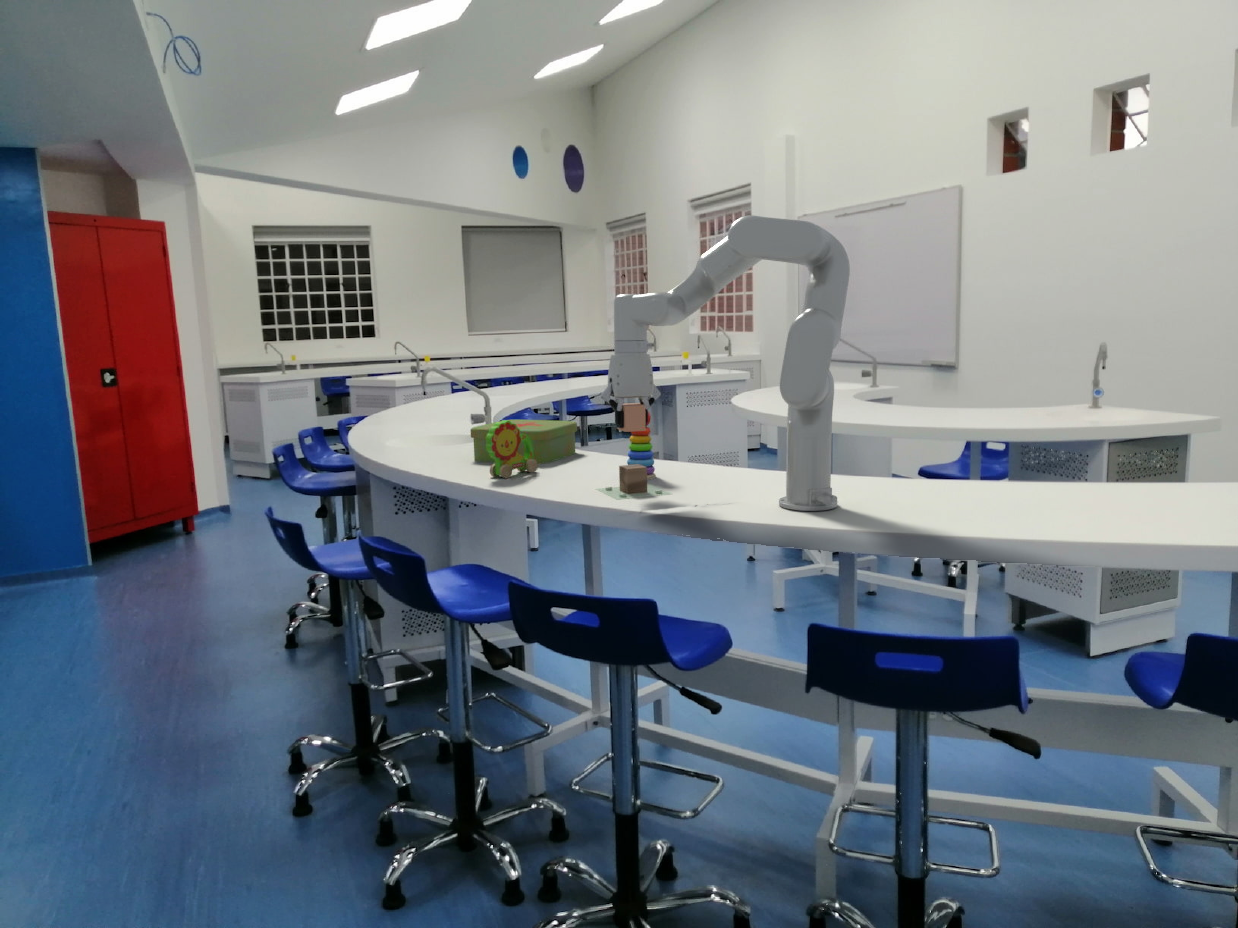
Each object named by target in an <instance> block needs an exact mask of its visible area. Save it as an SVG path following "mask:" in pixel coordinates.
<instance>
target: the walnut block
mask: <svg viewBox="0 0 1238 928" xmlns="http://www.w3.org/2000/svg"><path fill="white" fill-rule="evenodd" d="M618 467H619V468H618V470H619V471H618V472H619V473H618V474H619V476H618V477H619V487H620V491H622V492H624V493H626V494H635V493H645V492H647V484H648V479H647V467H645V466H642V465H640V464H634V465H628V464H626V465H625V464H624V465H618Z"/></svg>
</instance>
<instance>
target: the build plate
mask: <svg viewBox="0 0 1238 928" xmlns="http://www.w3.org/2000/svg"><path fill="white" fill-rule="evenodd" d="M595 490H596V491H598V492H600V493H603V494H605V495H607V497H611V498H612V499H614V500H616V501H617V500H626V499H629V500H630V499H637V498H648V497H649V498H650V497H655V496H656V497H658V496H668V495H673V493H671V492H669V491H667V490H664V489H662V488H660V487H658V486H655V485H652V484H649V483H647V492H645V493H635V494H626V493H624V492H622V491H620V486H605V487H602V488H596V489H595Z"/></svg>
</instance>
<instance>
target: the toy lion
mask: <svg viewBox="0 0 1238 928" xmlns="http://www.w3.org/2000/svg"><path fill="white" fill-rule="evenodd" d="M507 420H508V419H505V420H504V419H503V420H500V421H501V422H499V421H496V423H495V422H494V423H495V424H494V426H493V427H491V428H490V429H489V433H488V434H487V435H486V450H487V451H488V452H489V456H490V457H491V458H494V459H495V462H494V463H493V464H492V465H490V467H489V473H490V476H491V477H493V478H499V477H501V478H503V479H509V478H510V477H511V476H512V474H513V471H514V470H517V471H518V472H523V473H524V472H525V471H526V472H528V473H532V474H533V473H536V472H537V469H538V465H539V464H537V461H536V460H534V451H533V444H532V442H531V440H530V438H529V437H528V436H526V435H524V434H521V432H520V429H519V428H517V425H516V424H515V423H511V421H507ZM521 442H523V444H524V447H525V454H524V457H523V456H522V455H520V454H519V453H518V447H519V445H520V443H521Z"/></svg>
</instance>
